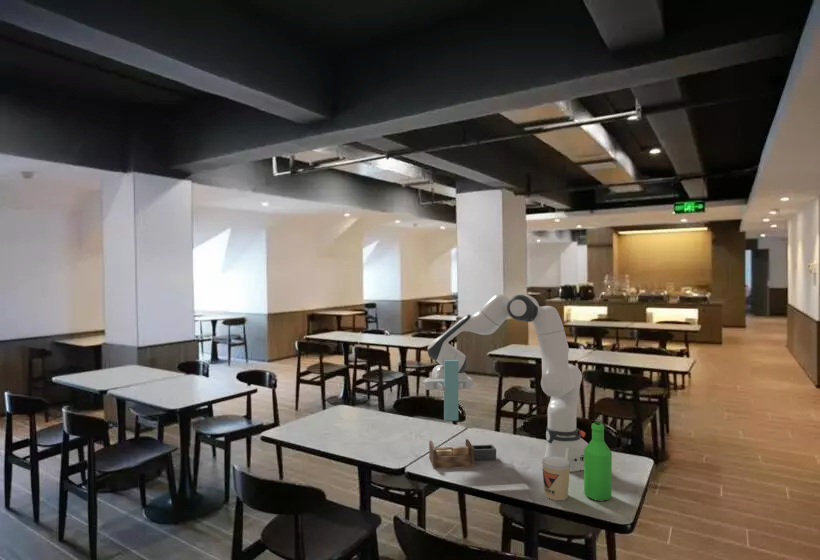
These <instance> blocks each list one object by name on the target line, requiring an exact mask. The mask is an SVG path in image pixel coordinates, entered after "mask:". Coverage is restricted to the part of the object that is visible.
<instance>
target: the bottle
mask: <svg viewBox="0 0 820 560" xmlns="http://www.w3.org/2000/svg"><path fill="white" fill-rule="evenodd" d="M590 428H591V440H590V441H589V442H588V445H587V446H586V448H585V449H584V470H583V494H584V495H586V496H587V497H588V498H589V497H590V498H592V499H591V500H593V499H596V500H606V501H608V500H609V499H611V498H612V487H613V486H612V481H613V479H612V475H613V473H612V471H613V470H612V466H613V465H612V463H613V462H612V460H613V458H612V455H613V454H612V451H611V450H610V448H609V446H608V444H606V442H605V431H604V430H605V425H604V423H602V422H593V423H591V427H590ZM590 498H589V499H590ZM596 500H595V501H596Z"/></svg>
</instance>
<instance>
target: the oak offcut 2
mask: <svg viewBox="0 0 820 560" xmlns="http://www.w3.org/2000/svg"><path fill="white" fill-rule="evenodd" d="M452 447H453V455H468V446H466V445H465V446H464V445H463V446H452Z"/></svg>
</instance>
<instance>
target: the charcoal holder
mask: <svg viewBox="0 0 820 560" xmlns="http://www.w3.org/2000/svg"><path fill="white" fill-rule="evenodd" d="M471 445H472V446H473V448H474V463H476V462H477V463H478V462H495V461H497V448H496V447H495V446H494V444H471Z"/></svg>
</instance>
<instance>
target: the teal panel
mask: <svg viewBox="0 0 820 560" xmlns="http://www.w3.org/2000/svg"><path fill="white" fill-rule="evenodd" d="M444 385H445V390H444V391H443V420H444V422H449V421H452V422H453V421H454V422H455V421H459V390H458V360H444Z"/></svg>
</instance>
